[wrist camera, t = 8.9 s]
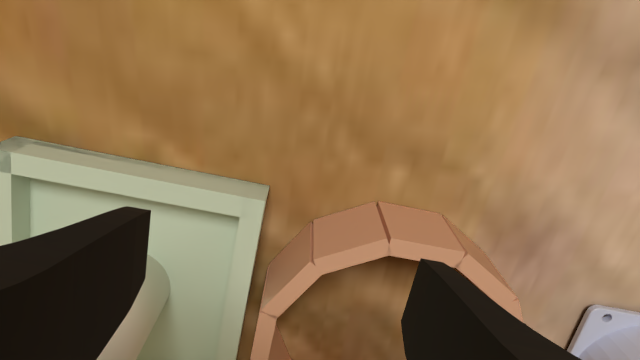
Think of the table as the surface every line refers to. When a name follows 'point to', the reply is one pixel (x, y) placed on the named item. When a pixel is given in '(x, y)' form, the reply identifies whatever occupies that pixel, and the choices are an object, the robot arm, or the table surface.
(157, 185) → the tray
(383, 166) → the table surface
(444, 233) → the segmented salmon ring
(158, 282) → the peg
